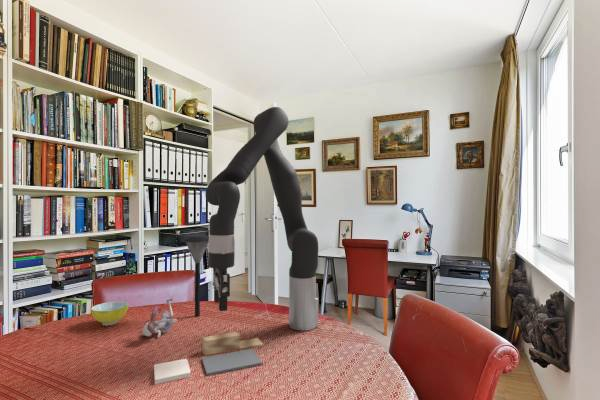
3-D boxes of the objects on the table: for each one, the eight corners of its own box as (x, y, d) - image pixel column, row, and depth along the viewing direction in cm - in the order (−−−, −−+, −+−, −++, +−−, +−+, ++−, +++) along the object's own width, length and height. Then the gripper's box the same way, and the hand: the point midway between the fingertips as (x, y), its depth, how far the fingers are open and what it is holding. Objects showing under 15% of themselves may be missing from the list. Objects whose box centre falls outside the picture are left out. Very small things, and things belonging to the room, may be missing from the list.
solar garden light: (189, 310, 132) (189, 234, 132) (219, 311, 130) (219, 234, 131) (173, 320, 120) (174, 237, 120) (206, 322, 118) (206, 237, 119)
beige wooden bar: (257, 339, 104) (257, 326, 104) (263, 345, 99) (263, 332, 99) (202, 350, 96) (202, 336, 96) (205, 357, 92) (205, 342, 92)
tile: (186, 358, 89) (154, 364, 85) (190, 372, 81) (154, 379, 78) (186, 364, 89) (154, 371, 85) (190, 379, 81) (154, 386, 78)
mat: (252, 350, 96) (252, 348, 96) (261, 364, 88) (261, 362, 88) (202, 359, 90) (202, 357, 90) (206, 375, 82) (206, 373, 82)
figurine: (179, 337, 113) (154, 349, 99) (157, 329, 115) (128, 340, 100) (189, 303, 115) (164, 309, 100) (166, 296, 116) (139, 302, 102)
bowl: (127, 316, 125) (127, 299, 125) (129, 325, 115) (129, 307, 115) (91, 321, 119) (91, 304, 119) (90, 332, 109) (90, 313, 110)
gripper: (205, 247, 102) (204, 300, 102) (211, 254, 89) (210, 315, 89) (229, 246, 105) (228, 298, 105) (239, 253, 92) (238, 312, 92)
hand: (220, 306), depth 97 cm, fingers open, 8 cm apart
